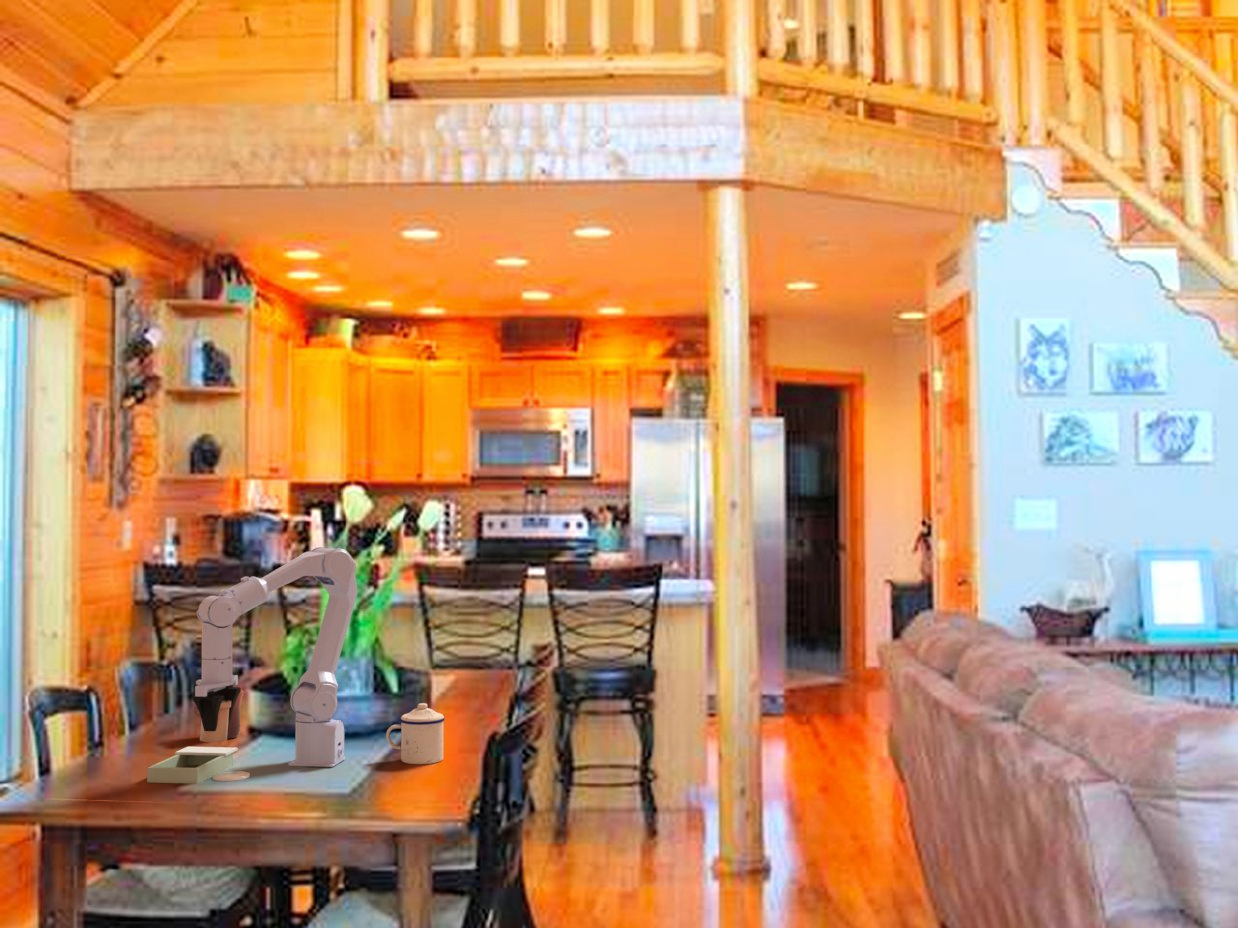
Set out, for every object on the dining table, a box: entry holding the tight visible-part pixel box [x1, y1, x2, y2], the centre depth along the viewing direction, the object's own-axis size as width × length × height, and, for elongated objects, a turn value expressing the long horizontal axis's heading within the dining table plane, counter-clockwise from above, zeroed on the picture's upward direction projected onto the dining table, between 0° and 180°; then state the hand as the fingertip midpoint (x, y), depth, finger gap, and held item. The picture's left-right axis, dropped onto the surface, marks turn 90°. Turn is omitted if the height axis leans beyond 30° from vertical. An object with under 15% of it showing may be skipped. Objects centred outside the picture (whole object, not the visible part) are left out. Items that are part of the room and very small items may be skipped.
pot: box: [199, 699, 231, 743], centre depth 240 cm, size 6×6×8 cm
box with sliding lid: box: [146, 746, 239, 784], centre depth 243 cm, size 11×18×4 cm, turn 174°
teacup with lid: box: [385, 702, 446, 765], centre depth 256 cm, size 12×9×12 cm
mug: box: [227, 689, 245, 740], centre depth 279 cm, size 12×9×10 cm
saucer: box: [211, 770, 251, 782], centre depth 240 cm, size 7×7×1 cm
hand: (216, 728), depth 240 cm, fingers closed on pot, 5 cm apart
